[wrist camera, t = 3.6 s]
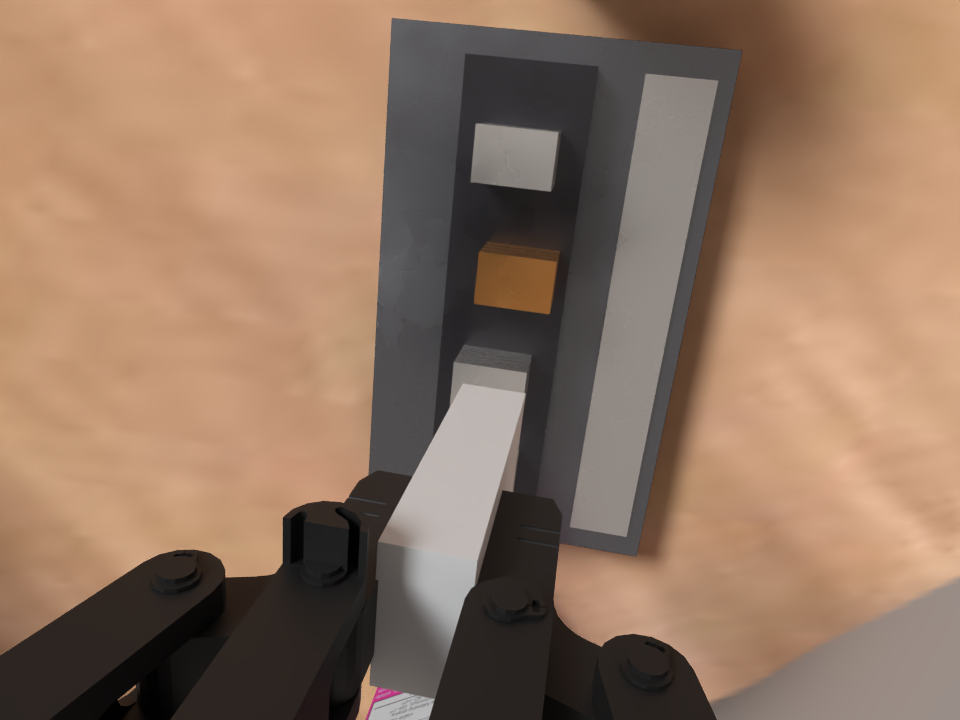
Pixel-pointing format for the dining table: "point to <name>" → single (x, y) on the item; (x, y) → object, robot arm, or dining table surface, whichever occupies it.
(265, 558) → the dining table surface
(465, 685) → the robot arm
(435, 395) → the breaker panel
